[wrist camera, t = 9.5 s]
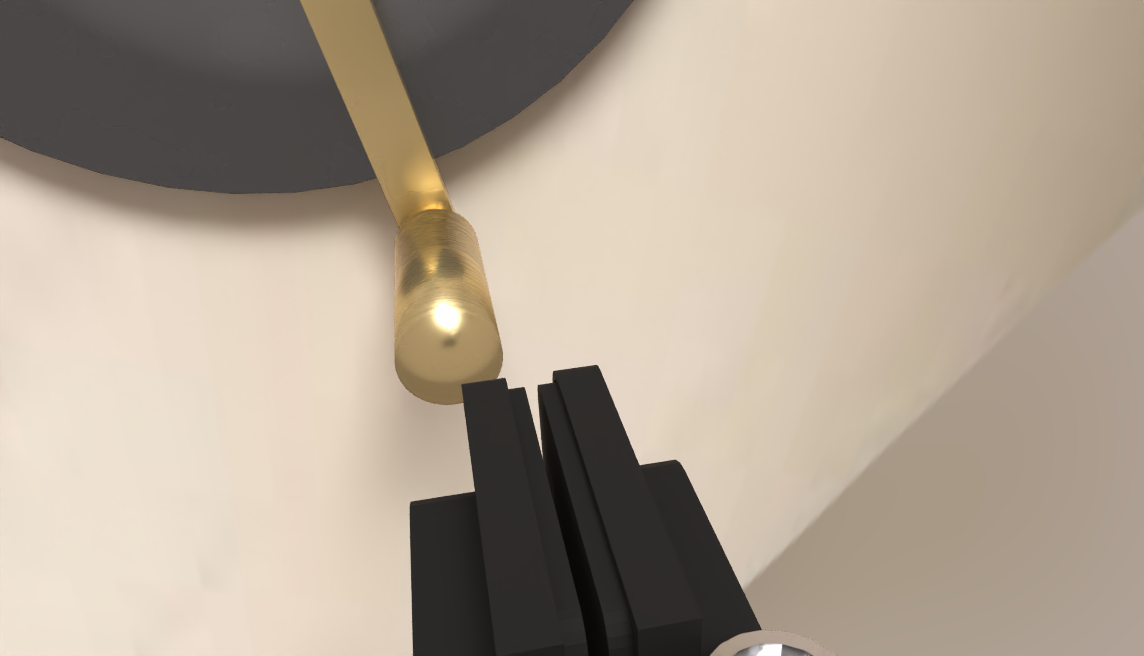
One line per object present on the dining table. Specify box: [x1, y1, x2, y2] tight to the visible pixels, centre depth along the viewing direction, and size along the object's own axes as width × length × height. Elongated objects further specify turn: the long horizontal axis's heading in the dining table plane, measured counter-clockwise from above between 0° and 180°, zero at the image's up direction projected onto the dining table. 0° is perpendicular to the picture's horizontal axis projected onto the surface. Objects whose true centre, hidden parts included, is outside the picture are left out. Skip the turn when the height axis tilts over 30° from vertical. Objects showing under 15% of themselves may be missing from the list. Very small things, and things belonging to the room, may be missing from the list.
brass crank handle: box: [300, 0, 503, 405], centre depth 19 cm, size 13×4×8 cm, turn 18°
